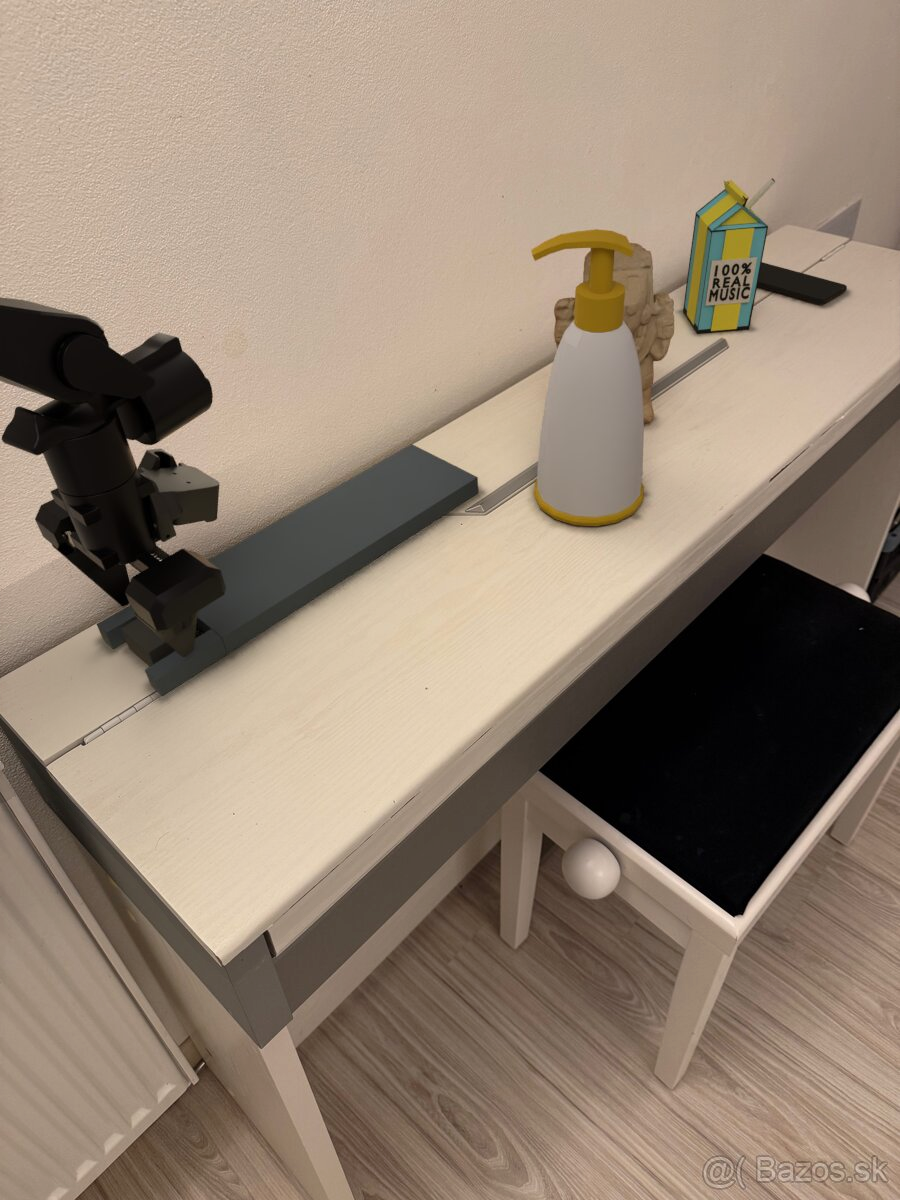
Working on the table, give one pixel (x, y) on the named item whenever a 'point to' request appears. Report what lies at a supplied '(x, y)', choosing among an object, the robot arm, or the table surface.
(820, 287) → the smartphone
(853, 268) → the table surface
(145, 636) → the black block
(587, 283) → the soap bottle
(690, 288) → the carton
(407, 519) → the grey rectangular block
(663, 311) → the figurine
